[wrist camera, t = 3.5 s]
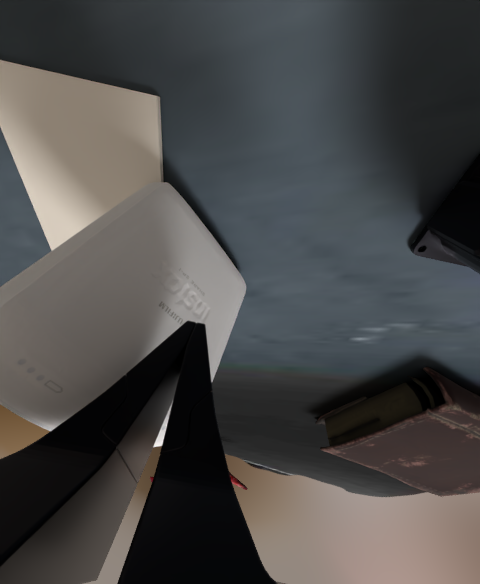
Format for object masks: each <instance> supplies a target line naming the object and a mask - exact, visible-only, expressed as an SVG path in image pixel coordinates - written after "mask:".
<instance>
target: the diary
mask: <svg viewBox="0 0 480 584" xmlns="http://www.w3.org/2000/svg"><path fill="white" fill-rule="evenodd" d="M423 370H424V371H425V372H426V373H427V374H429V375H430V376H431V377H432V379H433V380H434V381H435V383H436V384H437V386H438V387H439V388H440V390H441V391H439V390H437V389H436V388H434V387H432V386H430V385H428V384H426V383H424V382H422V381H420V380H418V379H416V378H412V377H410V376H408V377H410V378H412V380H413V381H415V382H416V383H417V384H419V385H420V386H421V387H422V388H423V390H424V391H425V392H424V391H422V390H420V389H418V388H416V387H413V386H411V385H409V384H407V383H403V384H400V385H398V386H396V387H394V388H392V389H389V390H387V391H385V392H383V393H380V394H378V395H376V396H374V397H372V398H366V397H361V398H359V399H357V400H355V401H353V402H351V403H348V404H346V405H344V406H342V407H340V408H337V409H335V410H333V411H331V412H329V413H327V414H325V415H323V416H321V417H320V418H319V419H318V420H317V421H316V424H320V423H321V424H324V425H326V430H327V434H328V439H329V444H330V446H328V447H321V448H320V449H321V450H323V451H325V452H328V453H331V454H334V455H336V456H339V457H342V458H345V459H347V460H350V461H353V462H356V463H359V464H361V465H364V466H367V467H370V468H372V469H375V470H378V471H381V472H383V473H385V474H388V475H390V476H392V477H394V478H396V479H398V480H400V481H402V482H404V483H406V484H408V485H410V486H412V487H415V488H418V489H421V490H424V491H427V492H429V493H432V494H435V495H438V496H449V495H458V494H468V493H477V492H480V396H478V395H476V394H474V393H472V392H470V391H468V390H466V389H464V388H462V387H461V386H459V385H457V384H456V383H454V382H452V381H451V380H449V379H447V378H446V377H444V376H442V375H441V374H439V373H437V372H436V371H434V370H432V369H431V368H429V367H425V368H423Z"/></svg>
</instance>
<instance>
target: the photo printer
mask: <svg viewBox="0 0 480 584" xmlns="http://www.w3.org/2000/svg"><path fill="white" fill-rule="evenodd" d="M245 292H246V284H245V281H244V279H243V278H242V276H241V274H240V273H239V271H238V270H237V269H236V267H235V266H234V264H233V263H232V261H231V260H230V259H229V257H228V256H227V254H226V253H225V252H224V250H223V249H222V248H221V246H220V245H219V244H218V242H217V241H216V240H215V238H214V237H213V236H212V234H211V233H210V232H209V230H208V229H207V228H206V226H205V225H204V224H203V223H202V221H201V220H200V219H199V217H198V216H197V215H196V214H195V212H194V211H193V210H192V209H191V207H190V206H189V205H188V204H187V202H186V201H185V200H184V199H183V198H182V196H181V195H180V194H179V193H178V192H177V191H176V190H175V189H174V188H173V187H172V186H171V185H170V184H169V183H167V182H164V183H161V182H153V183H149V184H147V185H145V186H144V187H142V188H141V189H139V190H138V191H137V192H135V193H134V194H132V195H131V196H129V197H128V198H126V199H125V200H124V201H122V202H121V203H119V204H118V205H116V206H115V207H114V208H112V209H111V210H109V211H108V212H107V213H105V214H104V215H102V216H101V217H99V218H98V219H97V220H95V221H94V222H92V223H91V224H89V225H88V226H87V227H85V228H84V229H82V230H81V231H79V232H78V233H77V234H75V235H74V236H72V237H71V238H70V239H68V240H67V241H65V242H64V243H62V244H61V245H60V246H58V247H57V248H55V249H54V250H53V251H51V252H50V253H48V254H47V255H46V256H44V257H43V258H41V259H40V260H38V261H37V262H36V263H34V264H33V265H31V266H30V267H28V268H27V269H26V270H24V271H23V272H21V273H20V274H18V275H17V276H15V277H14V278H13V279H11V280H10V281H8V282H7V283H5V284H4V285H3V286H1V287H0V404H1V405H2V406H4V407H6V408H7V409H9V410H10V411H12V412H13V413H15V414H17V415H19V416H20V417H22V418H24V419H26V420H28V421H30V422H32V423H34V424H36V425H38V426H40V427H42V428H44V429H47V430H49V431H52V430H53V429H55V428H56V427H57V426H59V425H60V424H61V423H63V422H64V421H66V420H67V419H68V418H70V417H71V416H72V415H74V414H75V413H77V412H78V411H79V410H81V409H82V408H84V407H85V406H86V405H88V404H89V403H90V402H92V401H93V400H94V399H96V398H97V397H98V396H100V395H101V394H102V393H104V392H105V391H106V390H107V389H108V388H110V387H111V386H112V385H113V384H114V383H116V382H117V381H118V380H119V379H120V378H121V377H123V376H124V375H126V373H127V372H128V371H130V370H131V369H132V368H133V367H134V366H135V365H137V364H138V363H139V362H140V361H141V360H142V359H143V358H145V357H146V356H147V355H148V354H149V353H150V352H152V351H153V350H154V349H155V348H156V347H157V346H159V345H160V344H161V343H162V342H163V341H164V340H165V339H167V338H168V337H169V336H170V335H171V334H172V333H174V332H175V331H176V330H177V329H178V328H179V327H180V326H182V325H183V324H184V323H185V322H186V321H193V322H196V323H197V322H198V323H203V324H205V326H206V335H207V344H208V354H209V363H210V372H211V382H212V381H213V379H214V376H215V373H216V371H217V368H218V366H219V363H220V360H221V357H222V354H223V352H224V349H225V347H226V344H227V341H228V339H229V336H230V333H231V330H232V328H233V325H234V322H235V320H236V317H237V314H238V312H239V309H240V306H241V304H242V301H243V298H244V295H245ZM172 403H173V401H172ZM171 407H172V404H171V406H170V408H169V411H168V413H167V415H166V418H165V420H164V422H163V425H162V427H161V429H160V432H159V434H158V437H157V439H156V441H155V444H154V446H153V447H156V446H162V444H163V440H164V436H165V432H166V428H167V423H168V419H169V415H170V411H171Z"/></svg>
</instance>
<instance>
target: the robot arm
mask: <svg viewBox="0 0 480 584" xmlns="http://www.w3.org/2000/svg"><path fill="white" fill-rule="evenodd" d="M421 246H423V247H422V248H421V249H419V248H420V247H421ZM418 249H419V250H418ZM411 251H412V252H413V253H414V254H415V255H417V256H422V257H426V258H431V259H435V260H440V261H445V262H449V263H454V264H458V265H463V266H467V267H470V268H471V269H473V270H474V271H476V272H478V273H479V274H480V154H479V156H478V157H477V158H476V160H475V161H474V162H473V164H472V165H471V166H470V168H469V169H468V171H467V172H466V173H465V175H464V176H463V177H462V179H461V180H460V181H459V183H458V184H457V185H456V186H455V188H454V189H453V190H452V192H451V193H450V195H449V196H448V197H447V199H446V200H445V201H444V203H443V204H442V205H441V207H440V208H439V209H438V211H437V212H436V213H435V215H434V216H433V217H432V219H431V220H430V221H429V223H428V224H427V226H426V227H425V228H424V230H423V231H422V232H421V234H420V235H419V236H418V238H417V239H416V241H415V242H414V243H413V245H412V246H411ZM172 401H173V403H172ZM171 404H172V407H171V411H170V415H169V419H168V423H167V428H166V432H165V436H164V440H163V444H162V448H161V452H160V457H159V461H158V464H157V468H156V472H155V475H154V479H153V482H152V485H151V488H150V491H149V493H148V496H147V499H146V502H145V505H144V508H143V511H142V514H141V517H140V520H139V523H138V525H137V528H136V531H135V534H134V537H133V540H132V543H131V546H130V549H129V552H128V554H127V557H126V560H125V563H124V566H123V569H122V572H121V575H120V578H119V580H118V584H285V583H280V582H276V581H274V580H273V579H272V578H271V577H270V576H269V574H268V573H267V571H266V570H265V568H264V566H263V564H262V562H261V560H260V557H259V555H258V552H257V550H256V547H255V544H254V542H253V539H252V536H251V534H250V531H249V528H248V526H247V523H246V521H245V518H244V515H243V513H242V510H241V507H240V505H239V502H238V499H237V497H236V494H235V491H234V488H233V485H232V482H231V478H230V474H229V471H228V467H227V463H226V458H225V454H224V450H223V446H222V442H221V438H220V433H219V429H218V424H217V419H216V415H215V407H214V400H213V392H212V382H211V372H210V363H209V354H208V344H207V335H206V326H205V324H203V323H198V322H197V323H196V322H193V321H186V322H185V323H184V324H183V325H182V326H180V327H179V328H178V329H177V330H176V331H175V332H174V333H172V334H171V335H170V336H169V337H168V338H167V339H165V340H164V341H163V342H162V343H161V344H160V345H159V346H157V347H156V348H155V349H154V350H153V351H152V352H150V353H149V354H148V355H147V356H146V357H145V358H143V359H142V360H141V361H140V362H139V363H138V364H137V365H135V366H134V367H133V368H132V369H131V370H130V371H128V372H127V373H126V375H124V376H123V377H121V378H120V379H119V380H118V381H117V382H116V383H114V384H113V385H112V386H111V387H110V388H108V389H107V390H106V391H105V392H104V393H102V394H101V395H100V396H98V397H97V398H96V399H94V400H93V401H92V402H90V403H89V404H88V405H86V406H85V407H84V408H82V409H81V410H79V411H78V412H77V413H75V414H74V415H72V416H71V417H70V418H68V419H67V420H66V421H64V422H63V423H61V424H60V425H59V426H57V427H56V428H55V429H53V430H52V431H50V432H49V433H48V434H46V435H45V436H44V437H42V438H41V439H39V440H37V441H36V442H34V443H32V444H31V445H29V446H27V447H25V448H24V449H22V450H20V451H18V452H16V453H14V454H11V455H9V456H7V457H4V458H2V459H0V584H82V583H86V582H91V581H95V580H97V578H98V576H99V573H100V571H101V569H102V566H103V564H104V562H105V559H106V557H107V554H108V552H109V550H110V548H111V545H112V543H113V540H114V538H115V536H116V533H117V531H118V529H119V526H120V524H121V522H122V519H123V517H124V515H125V512H126V510H127V507H128V505H129V503H130V500H131V498H132V496H133V493H134V491H135V489H136V486H137V483H138V481H139V479H140V477H141V474H142V472H143V469H144V467H145V465H146V462H147V460H148V458H149V455H150V453H151V451H152V448H153V446H154V444H155V441H156V439H157V437H158V434H159V432H160V429H161V427H162V425H163V422H164V420H165V418H166V415H167V413H168V411H169V408H170V406H171Z"/></svg>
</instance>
